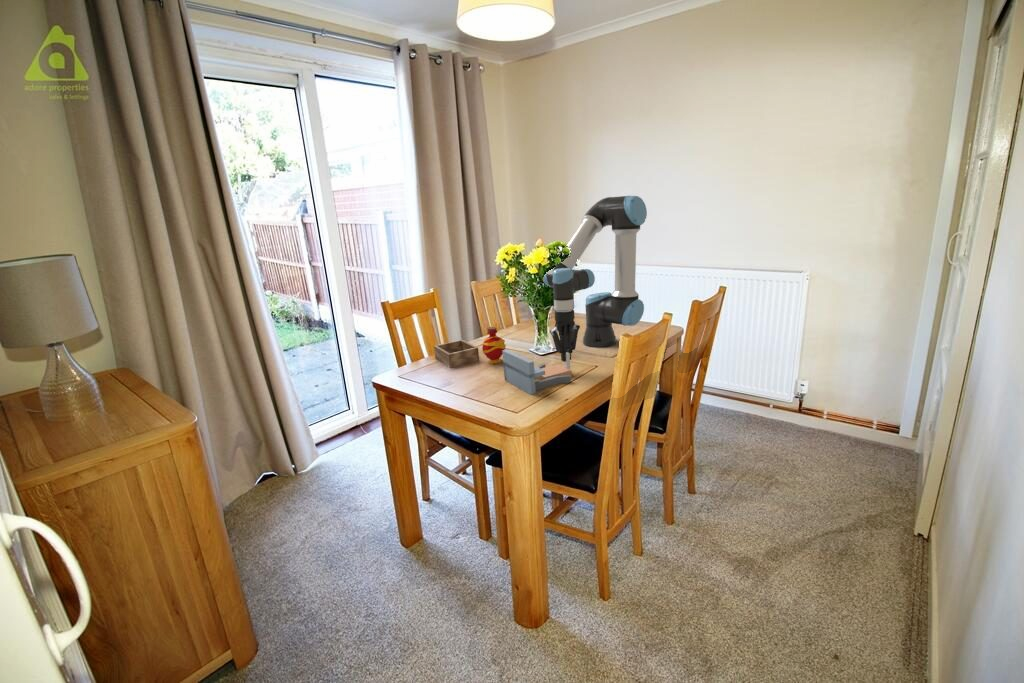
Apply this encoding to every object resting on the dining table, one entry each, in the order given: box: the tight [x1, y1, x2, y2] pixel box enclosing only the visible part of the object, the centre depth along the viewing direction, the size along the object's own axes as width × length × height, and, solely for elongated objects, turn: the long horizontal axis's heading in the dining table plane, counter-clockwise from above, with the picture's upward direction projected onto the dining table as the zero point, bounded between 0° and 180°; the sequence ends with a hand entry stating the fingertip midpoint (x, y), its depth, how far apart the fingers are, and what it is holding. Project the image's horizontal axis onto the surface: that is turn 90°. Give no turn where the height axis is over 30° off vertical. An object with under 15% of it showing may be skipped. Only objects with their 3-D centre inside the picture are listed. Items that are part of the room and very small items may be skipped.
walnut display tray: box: [433, 339, 480, 369], centre depth 212 cm, size 14×17×6 cm
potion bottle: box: [482, 326, 507, 364], centre depth 205 cm, size 10×10×15 cm
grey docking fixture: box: [502, 348, 572, 396], centre depth 179 cm, size 18×19×12 cm
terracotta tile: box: [535, 363, 573, 381], centre depth 184 cm, size 12×9×3 cm
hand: (566, 368), depth 187 cm, fingers closed
